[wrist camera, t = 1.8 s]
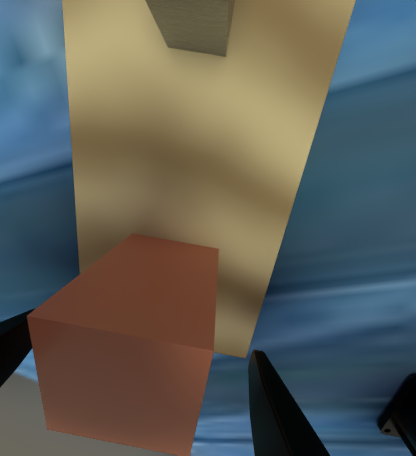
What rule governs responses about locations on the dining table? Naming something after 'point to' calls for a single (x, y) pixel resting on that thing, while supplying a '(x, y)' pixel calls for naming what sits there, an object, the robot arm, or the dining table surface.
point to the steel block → (194, 24)
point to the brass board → (198, 136)
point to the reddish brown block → (130, 345)
